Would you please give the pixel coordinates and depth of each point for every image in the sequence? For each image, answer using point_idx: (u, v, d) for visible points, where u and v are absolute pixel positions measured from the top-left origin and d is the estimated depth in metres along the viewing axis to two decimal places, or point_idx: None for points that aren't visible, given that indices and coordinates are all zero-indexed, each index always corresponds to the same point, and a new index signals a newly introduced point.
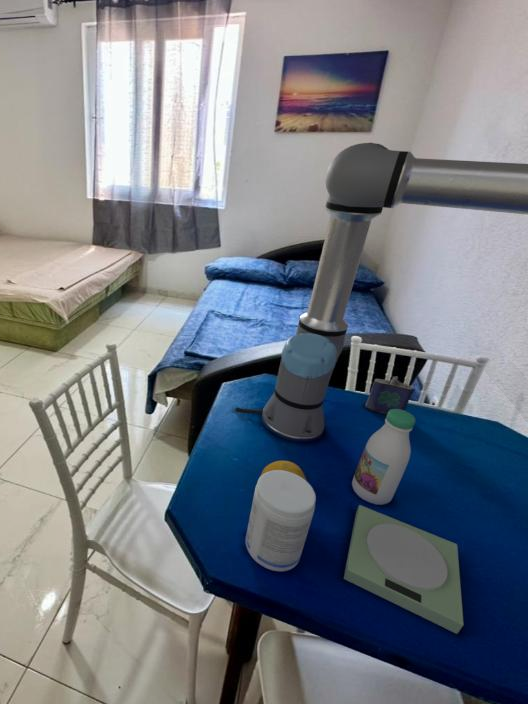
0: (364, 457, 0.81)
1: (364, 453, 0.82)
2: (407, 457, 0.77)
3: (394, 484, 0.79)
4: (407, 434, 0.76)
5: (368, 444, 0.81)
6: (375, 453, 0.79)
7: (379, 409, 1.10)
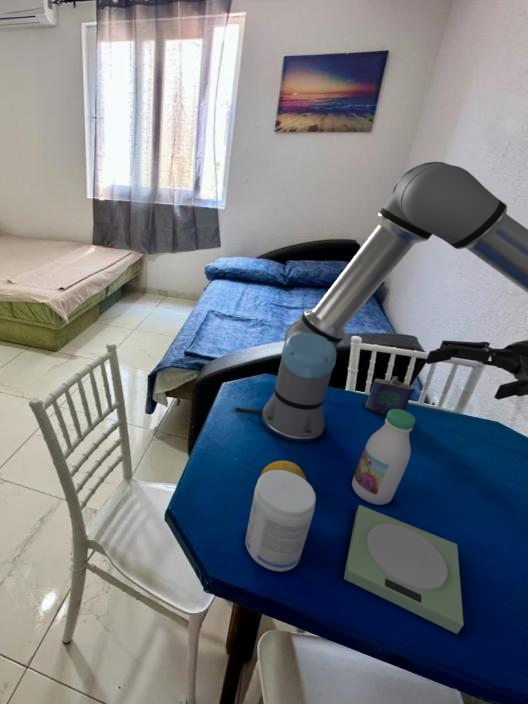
0: (364, 457, 0.81)
1: (364, 453, 0.82)
2: (407, 457, 0.77)
3: (394, 484, 0.79)
4: (407, 435, 0.76)
5: (368, 444, 0.81)
6: (375, 453, 0.79)
7: (379, 409, 1.10)
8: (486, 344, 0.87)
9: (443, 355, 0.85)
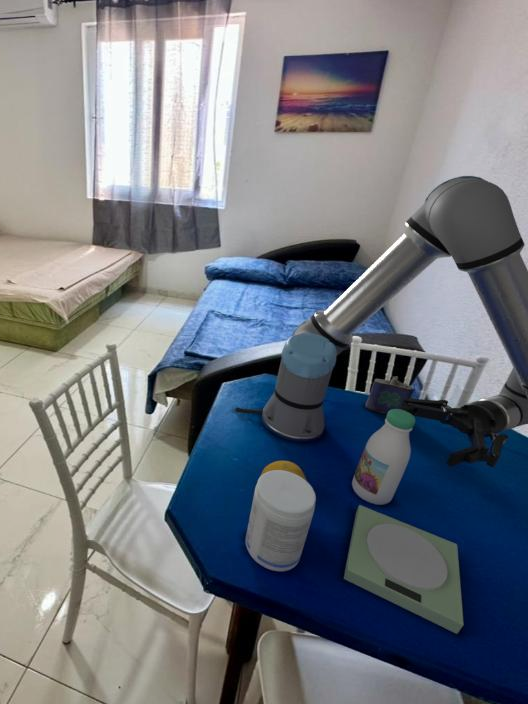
0: (364, 457, 0.81)
1: (364, 453, 0.82)
2: (407, 457, 0.77)
3: (394, 484, 0.79)
4: (407, 435, 0.76)
5: (368, 444, 0.81)
6: (375, 453, 0.79)
7: (379, 409, 1.10)
8: (444, 403, 0.91)
9: None
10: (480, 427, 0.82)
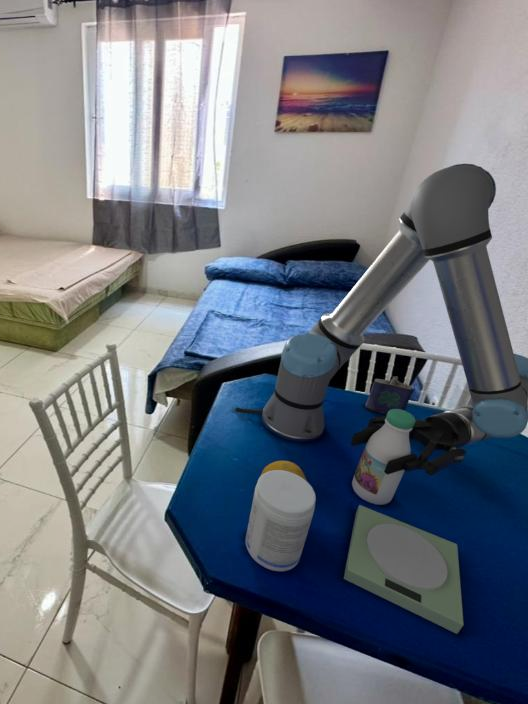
0: (364, 457, 0.81)
1: (364, 453, 0.82)
2: None
3: (394, 484, 0.79)
4: (407, 435, 0.76)
5: (368, 444, 0.81)
6: (374, 453, 0.79)
7: (379, 409, 1.10)
8: None
9: (369, 437, 0.82)
10: (436, 439, 0.80)
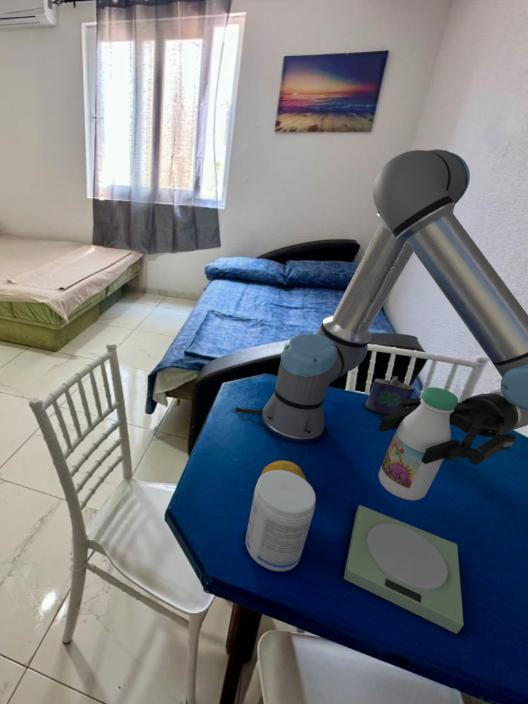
0: (394, 445, 0.70)
1: (394, 440, 0.70)
2: None
3: (431, 476, 0.68)
4: (447, 417, 0.64)
5: (399, 429, 0.69)
6: (408, 440, 0.67)
7: (379, 409, 1.10)
8: None
9: (399, 421, 0.71)
10: (479, 423, 0.68)
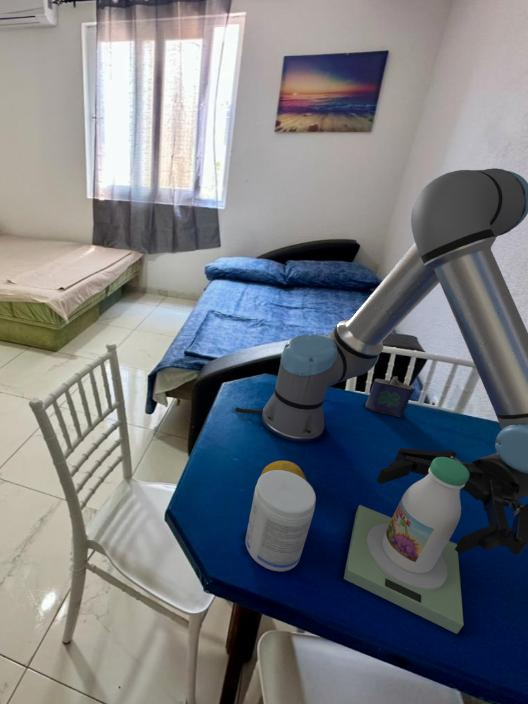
0: (400, 515, 0.65)
1: (400, 509, 0.65)
2: (457, 519, 0.60)
3: (439, 551, 0.63)
4: (458, 491, 0.59)
5: (405, 499, 0.64)
6: (415, 512, 0.62)
7: (379, 409, 1.10)
8: (452, 455, 0.71)
9: (399, 472, 0.69)
10: (499, 494, 0.63)
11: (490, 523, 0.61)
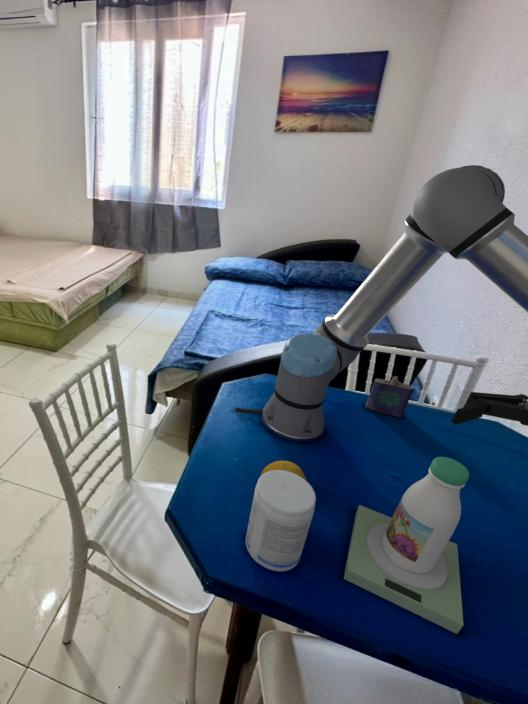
0: (400, 515, 0.65)
1: (400, 509, 0.65)
2: (457, 519, 0.60)
3: (439, 551, 0.63)
4: (458, 491, 0.59)
5: (405, 499, 0.64)
6: (415, 512, 0.62)
7: (379, 409, 1.10)
8: (524, 398, 0.71)
9: (473, 413, 0.68)
10: None
11: None
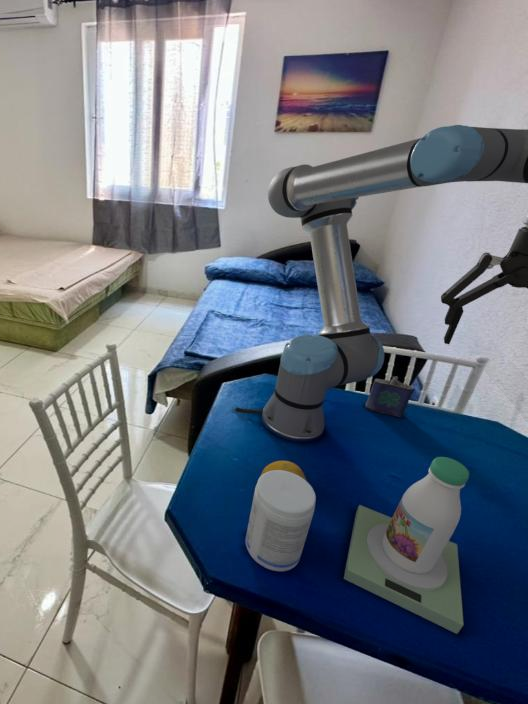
0: (400, 515, 0.65)
1: (400, 509, 0.65)
2: (457, 519, 0.60)
3: (439, 551, 0.63)
4: (458, 491, 0.59)
5: (405, 499, 0.64)
6: (415, 512, 0.62)
7: (379, 409, 1.10)
8: None
9: None
10: None
11: None
